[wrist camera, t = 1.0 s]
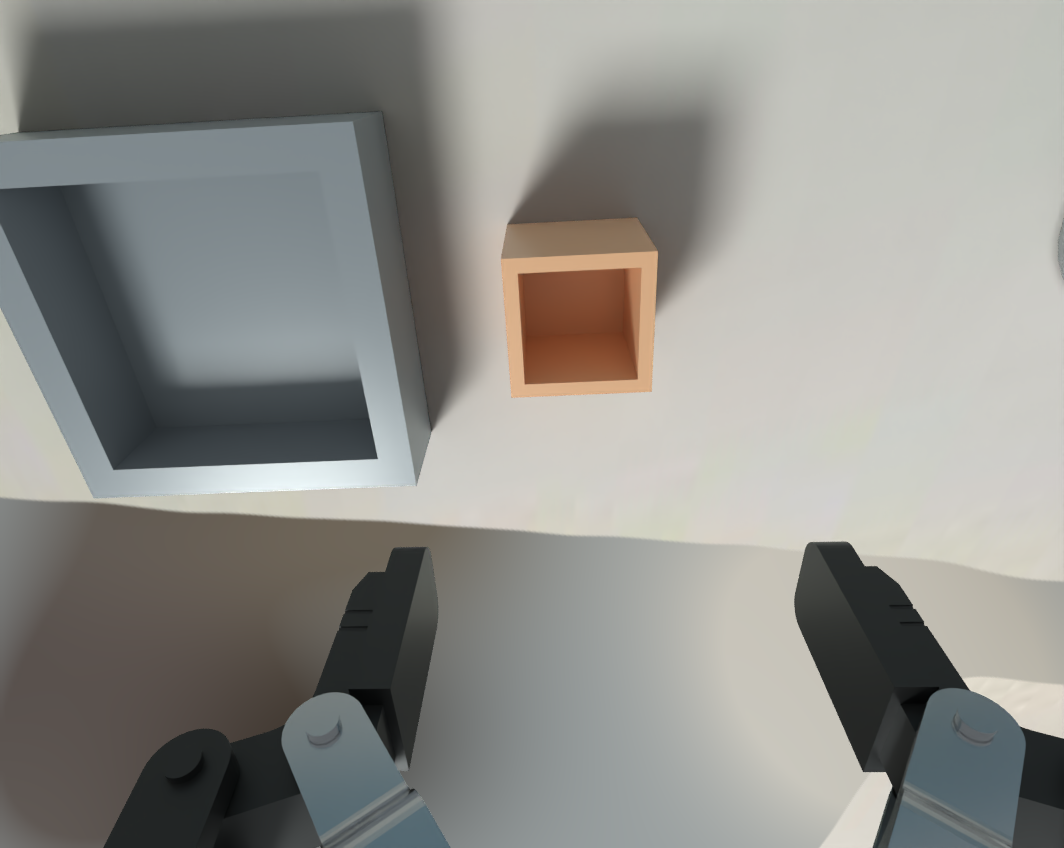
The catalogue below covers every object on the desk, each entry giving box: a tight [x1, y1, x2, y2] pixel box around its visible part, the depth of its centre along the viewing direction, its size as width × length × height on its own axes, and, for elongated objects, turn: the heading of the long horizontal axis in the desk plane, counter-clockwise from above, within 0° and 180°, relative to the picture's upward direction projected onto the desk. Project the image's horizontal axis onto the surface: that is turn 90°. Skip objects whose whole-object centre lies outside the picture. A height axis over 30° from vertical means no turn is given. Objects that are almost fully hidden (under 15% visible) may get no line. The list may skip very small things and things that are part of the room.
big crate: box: [0, 111, 431, 498], centre depth 29 cm, size 16×16×5 cm
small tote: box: [501, 218, 658, 398], centre depth 28 cm, size 6×6×6 cm
